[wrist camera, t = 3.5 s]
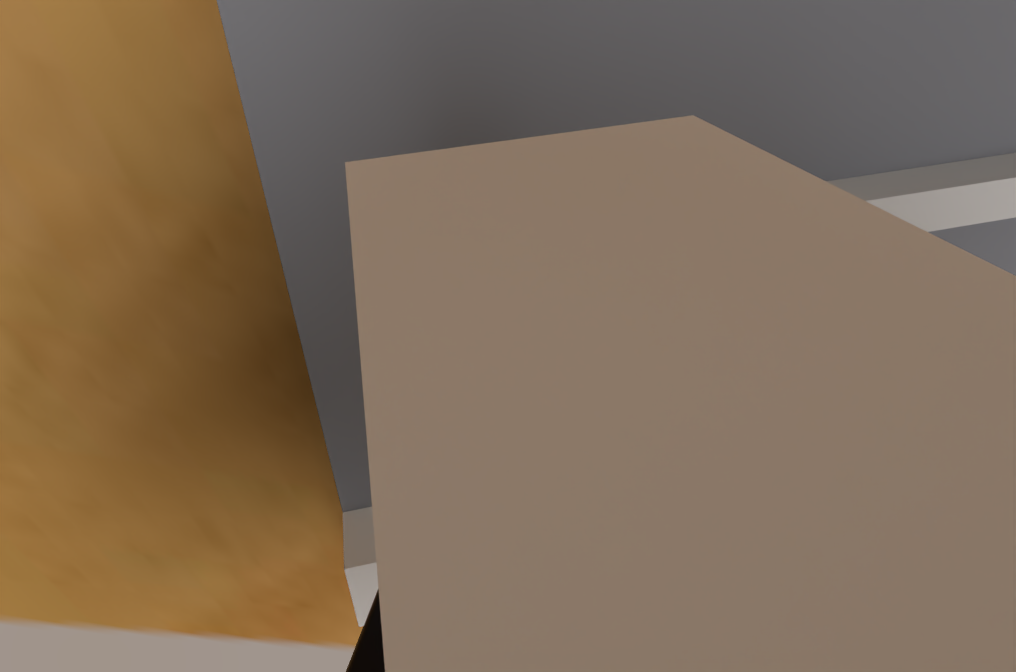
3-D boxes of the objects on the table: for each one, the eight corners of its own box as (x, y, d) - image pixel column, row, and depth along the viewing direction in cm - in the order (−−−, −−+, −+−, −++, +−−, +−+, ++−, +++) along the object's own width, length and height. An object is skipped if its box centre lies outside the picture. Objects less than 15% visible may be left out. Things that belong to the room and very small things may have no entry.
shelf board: (1279, -201, 17) (1479, -229, 14) (1075, 382, 25) (1177, 444, 22) (199, -116, 14) (164, -129, 11) (354, 530, 22) (358, 626, 19)
